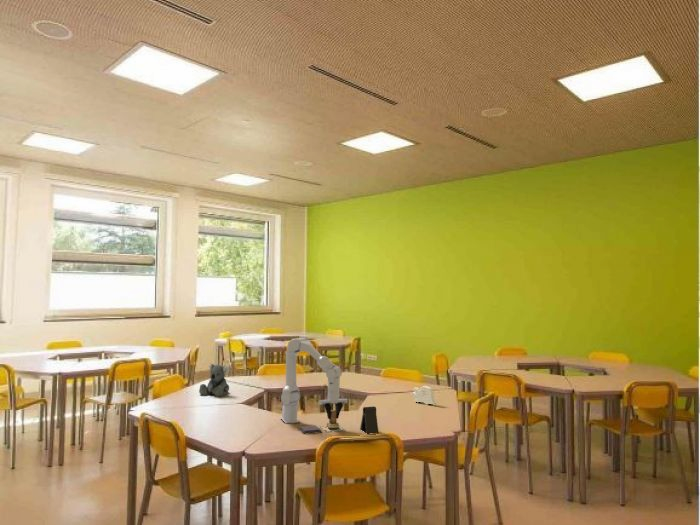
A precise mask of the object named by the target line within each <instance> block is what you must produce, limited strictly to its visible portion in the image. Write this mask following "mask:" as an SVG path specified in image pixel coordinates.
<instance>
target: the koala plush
mask: <svg viewBox="0 0 700 525" xmlns="http://www.w3.org/2000/svg"><path fill="white" fill-rule="evenodd" d="M208 368H209V374H210V375H209V376H210V377H209V378H210V380H209V381H208V383H207V385H206V384H205V383H202V384H200V386H199V389H198V390H199V391H198V393H199V394H200V395H201V396H208V395H209V396H210V395H214V396H215V397H217V398H219V397H223V396H226V395H227V394H228V393H229V391H230V386H229V384H228V383H227V379H226V378H225V377H226V376H227V375H228V374H230V370H231V369H230V366H229V365H227V364H226V365H220V364H214V363H209V365H208Z"/></svg>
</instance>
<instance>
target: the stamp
mask: <svg viewBox="0 0 700 525" xmlns="http://www.w3.org/2000/svg"><path fill="white" fill-rule="evenodd" d="M328 420H329V421H326V426H327V427H328V428H329V429H332V428H339V426H340V423H339V422H337V420H338V419H337V411H336V409H331V418H330V419H328Z"/></svg>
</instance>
